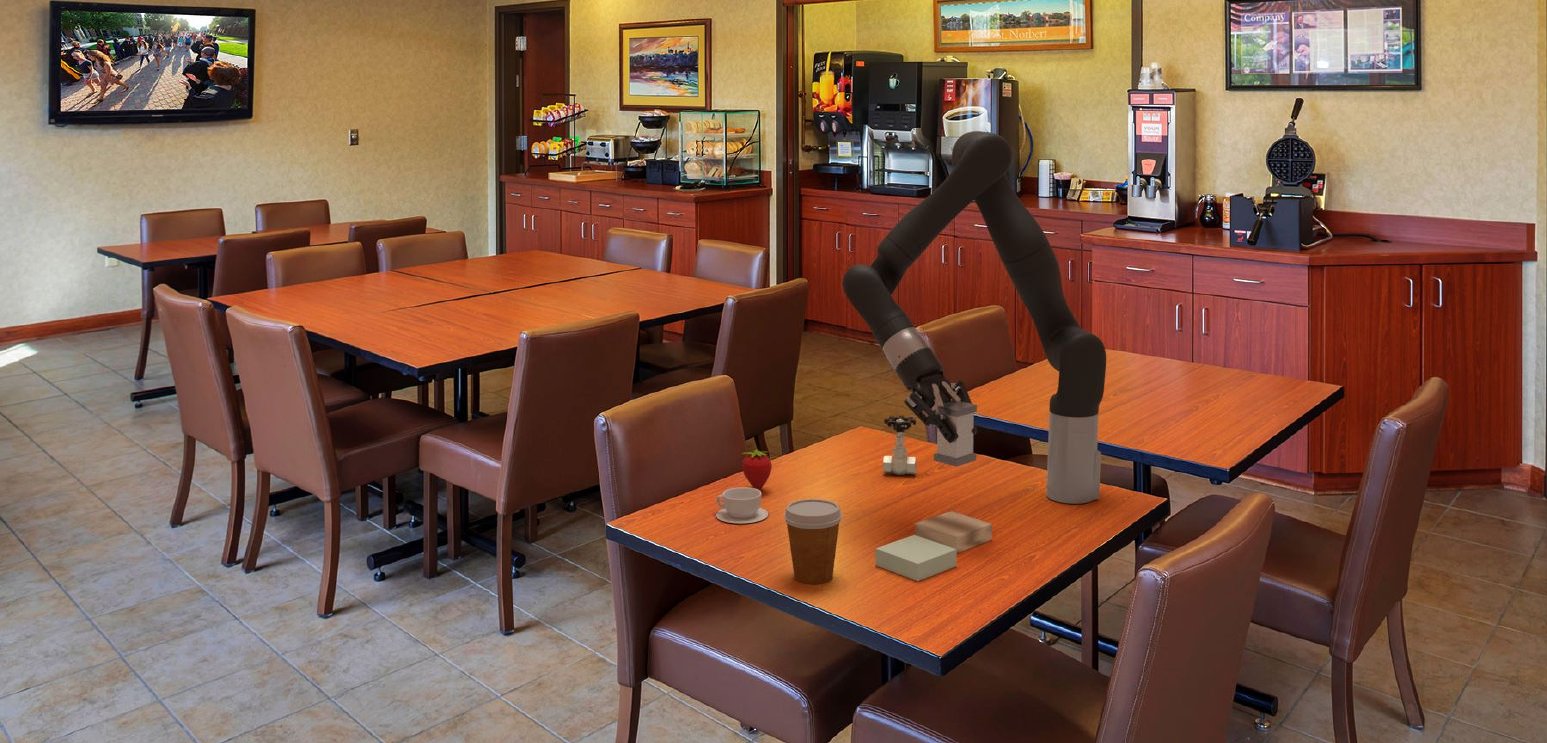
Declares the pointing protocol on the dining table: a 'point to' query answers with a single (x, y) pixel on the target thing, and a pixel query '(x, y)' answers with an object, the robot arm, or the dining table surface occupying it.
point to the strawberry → (756, 468)
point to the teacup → (741, 505)
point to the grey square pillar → (963, 425)
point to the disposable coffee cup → (813, 538)
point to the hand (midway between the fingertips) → (963, 437)
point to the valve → (899, 448)
